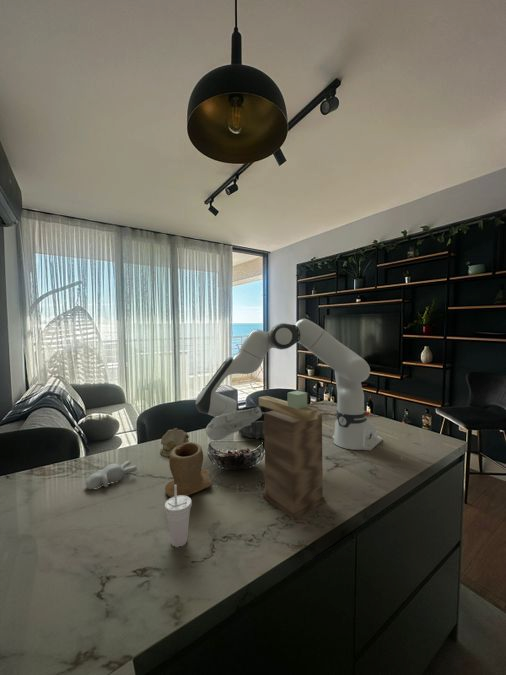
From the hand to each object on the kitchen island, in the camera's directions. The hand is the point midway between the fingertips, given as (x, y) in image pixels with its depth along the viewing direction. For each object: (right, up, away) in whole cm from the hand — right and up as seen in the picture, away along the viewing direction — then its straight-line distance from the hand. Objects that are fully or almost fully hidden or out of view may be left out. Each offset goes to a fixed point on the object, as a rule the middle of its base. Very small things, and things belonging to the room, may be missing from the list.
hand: (247, 411), depth 106 cm
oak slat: (+12, +4, -16) cm, 21 cm away
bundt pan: (+6, -20, +38) cm, 44 cm away
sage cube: (+15, +7, -20) cm, 26 cm away
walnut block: (+14, -22, -18) cm, 31 cm away
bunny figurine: (-46, -23, -5) cm, 52 cm away
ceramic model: (-30, -22, +18) cm, 41 cm away
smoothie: (-16, -23, -34) cm, 44 cm away
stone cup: (-18, -22, -12) cm, 31 cm away
